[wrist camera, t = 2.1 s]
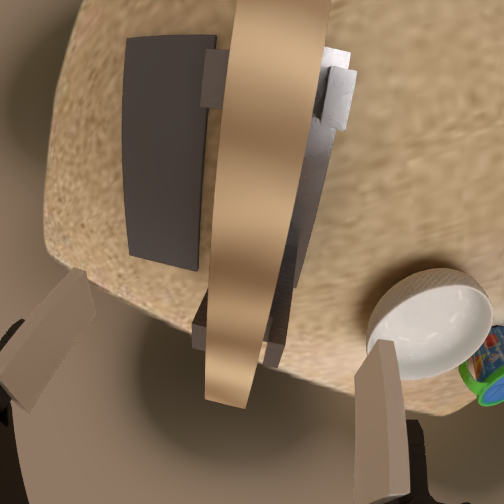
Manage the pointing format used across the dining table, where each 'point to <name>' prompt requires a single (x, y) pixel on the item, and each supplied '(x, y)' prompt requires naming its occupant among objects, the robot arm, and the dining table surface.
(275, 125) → the maple rail
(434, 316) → the cereal bowl
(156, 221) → the black rubber mat
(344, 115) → the stand
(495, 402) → the snack cup
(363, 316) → the dining table surface
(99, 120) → the dining table surface
